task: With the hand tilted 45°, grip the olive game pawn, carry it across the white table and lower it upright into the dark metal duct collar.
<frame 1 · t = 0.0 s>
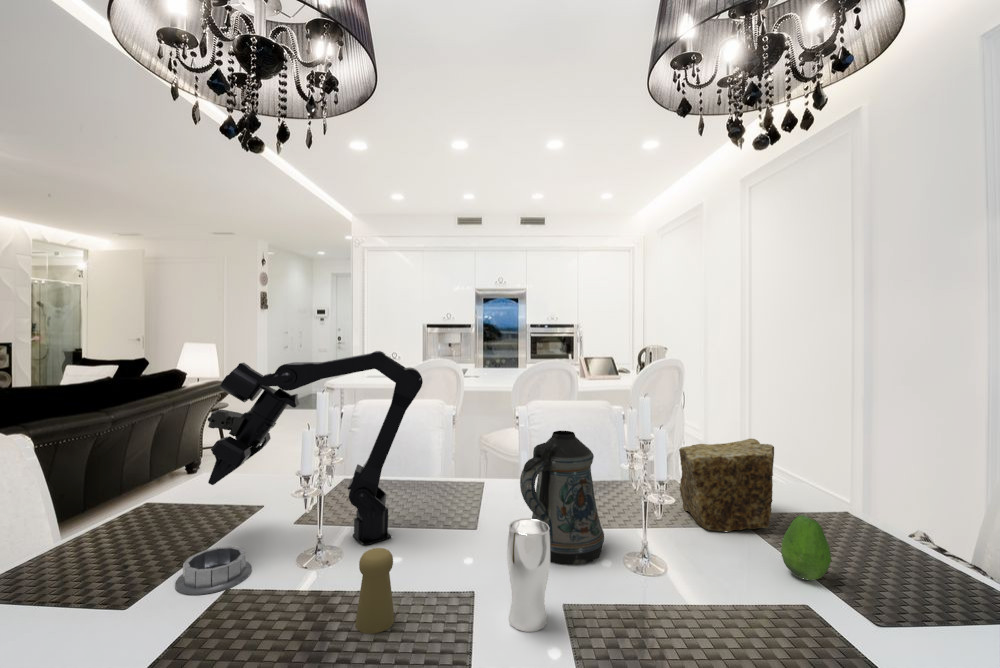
hand: (219, 477, 97), 15 cm above the table, tool tilted 35°, fingers open, 9 cm apart
olive game pawn: (375, 622, 73), on the table
beer glass: (527, 621, 74), on the table
duct collar: (214, 577, 85), on the table
beer stein: (562, 551, 98), on the table
decorative stone: (722, 520, 117), on the table
avocado: (805, 578, 89), on the table
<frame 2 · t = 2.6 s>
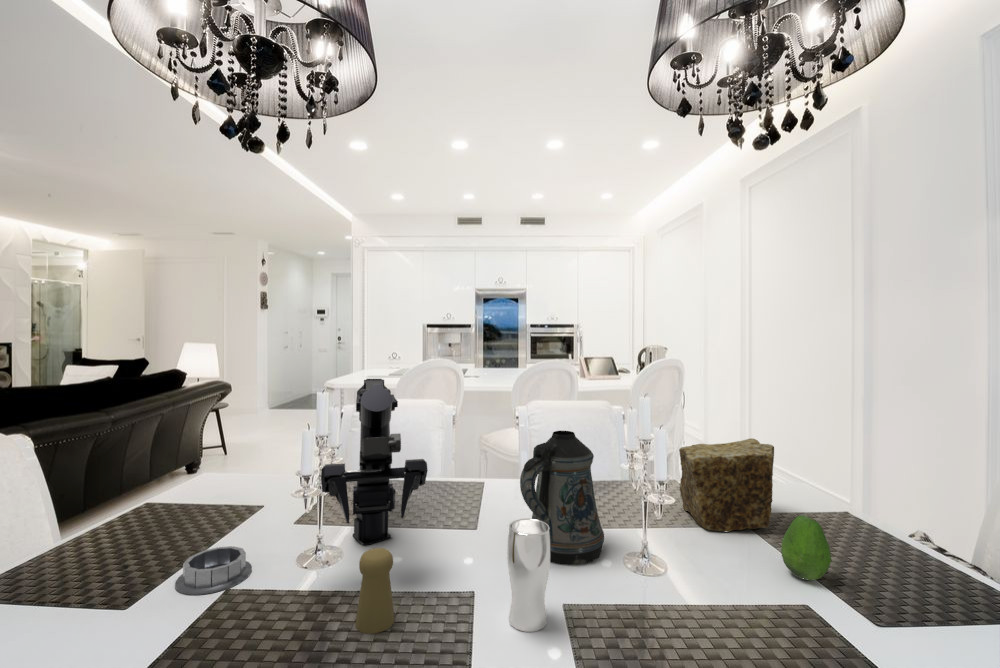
hand: (375, 519, 80), 13 cm above the table, tool tilted 45°, fingers open, 9 cm apart
nothing on the table moved.
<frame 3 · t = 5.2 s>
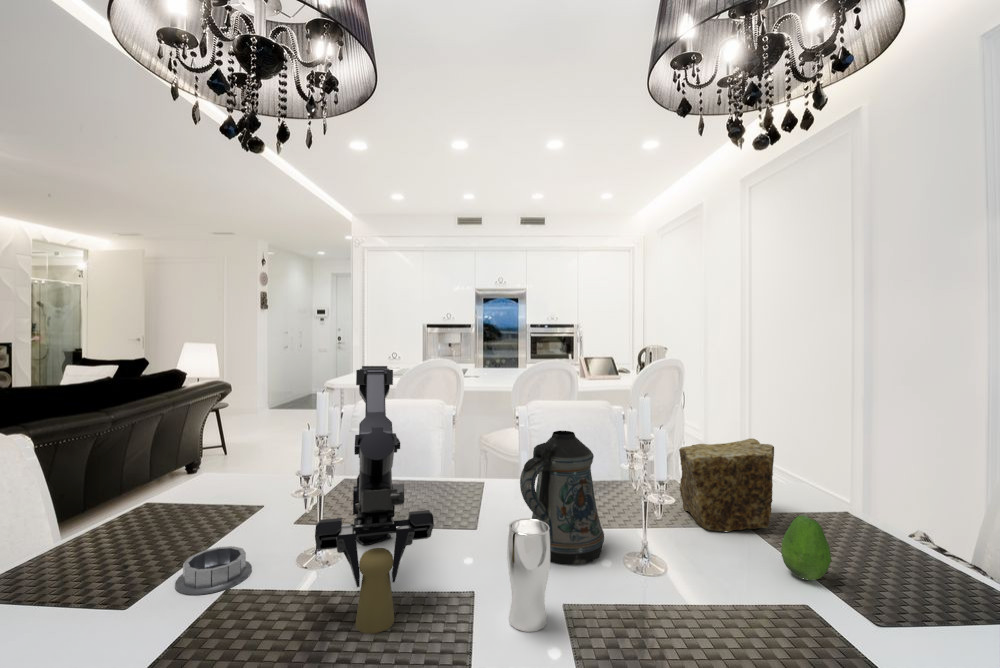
hand: (376, 584, 71), 7 cm above the table, tool tilted 45°, fingers closed on olive game pawn, 5 cm apart
olive game pawn: (375, 622, 73), on the table, touching gripper
everything else where it was.
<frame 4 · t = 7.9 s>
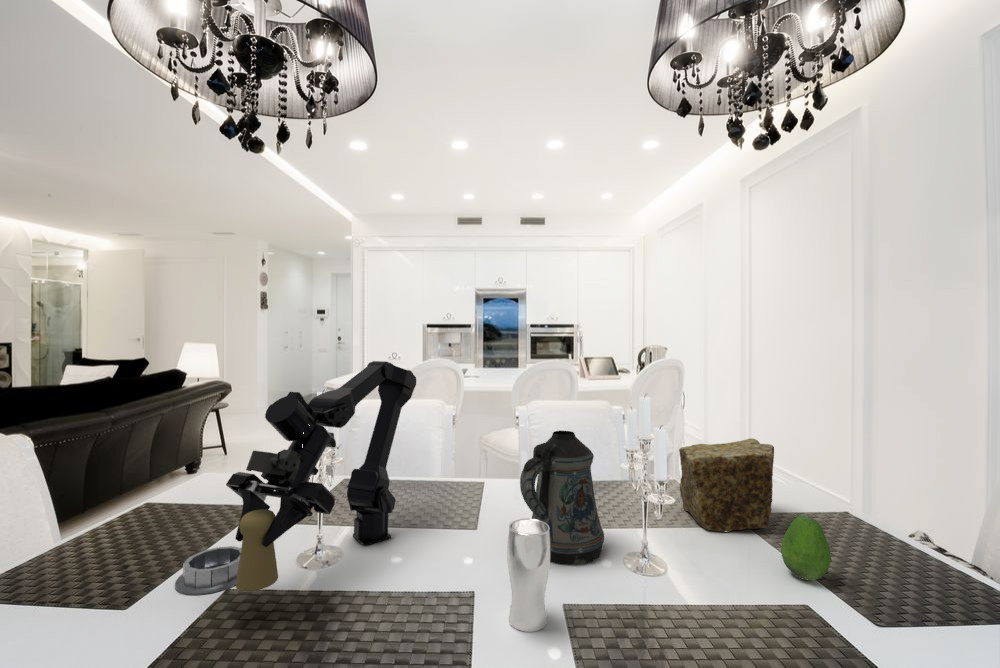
hand: (250, 543, 72), 12 cm above the table, tool tilted 45°, fingers closed on olive game pawn, 5 cm apart
olive game pawn: (257, 582, 73), point 5 cm above the table, touching gripper
everything else where it was.
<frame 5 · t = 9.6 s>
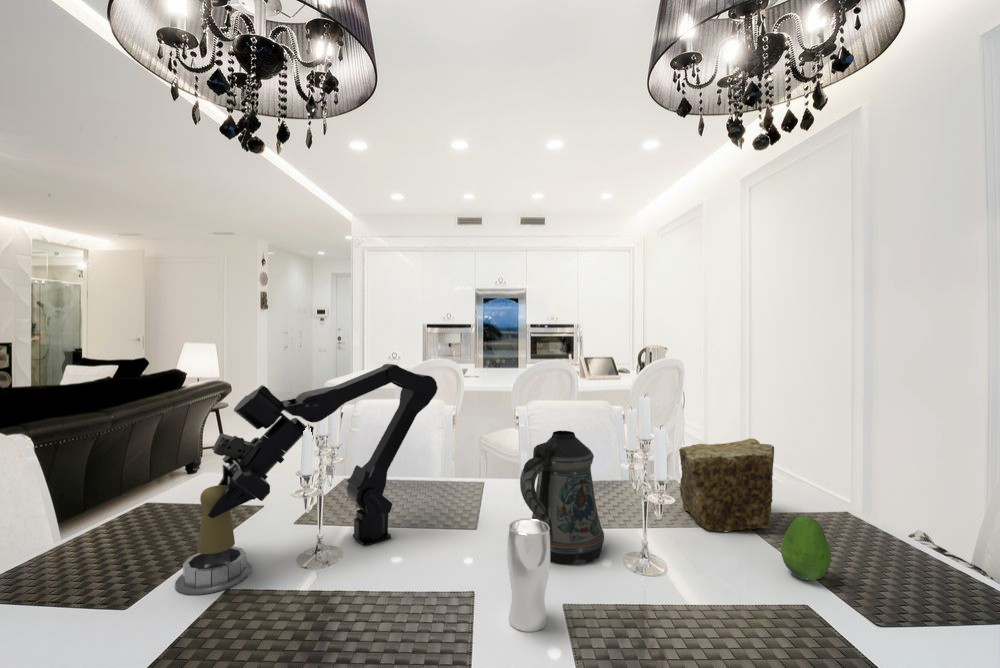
hand: (208, 512, 85), 12 cm above the table, tool tilted 45°, fingers closed on olive game pawn, 5 cm apart
olive game pawn: (216, 547, 85), point 5 cm above the table, touching gripper
everything else where it was.
when the fingers open (8 cm above the table, at t = 11.1 s): olive game pawn stays where it is, resting on duct collar.
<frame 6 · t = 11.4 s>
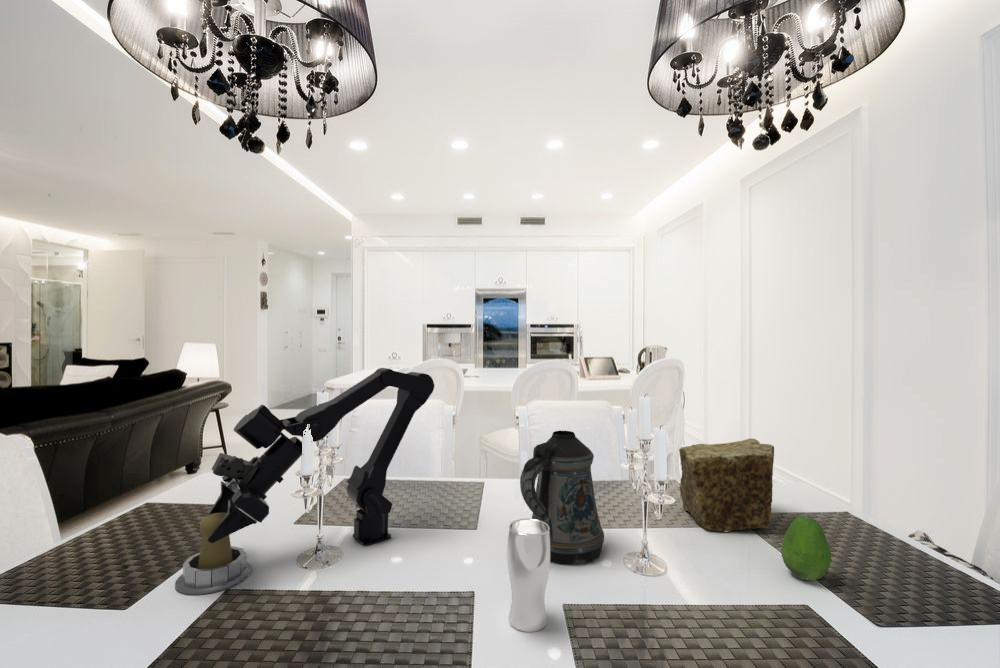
hand: (207, 532, 84), 9 cm above the table, tool tilted 45°, fingers open, 9 cm apart
olive game pawn: (215, 575, 85), resting on duct collar
everything else where it was.
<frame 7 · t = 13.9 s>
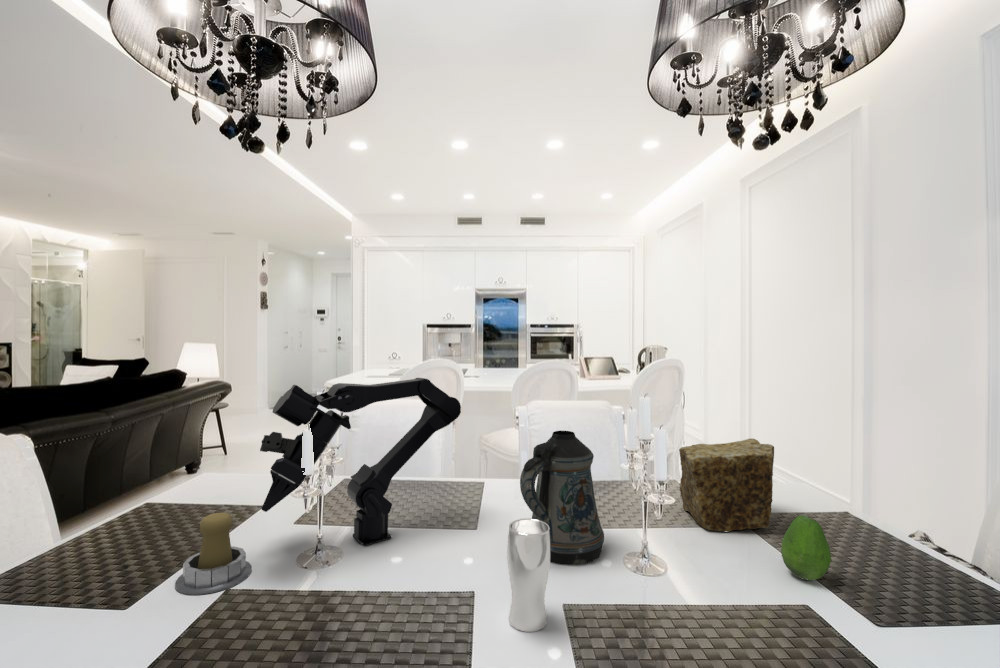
hand: (267, 507, 91), 11 cm above the table, tool tilted 35°, fingers open, 9 cm apart
nothing on the table moved.
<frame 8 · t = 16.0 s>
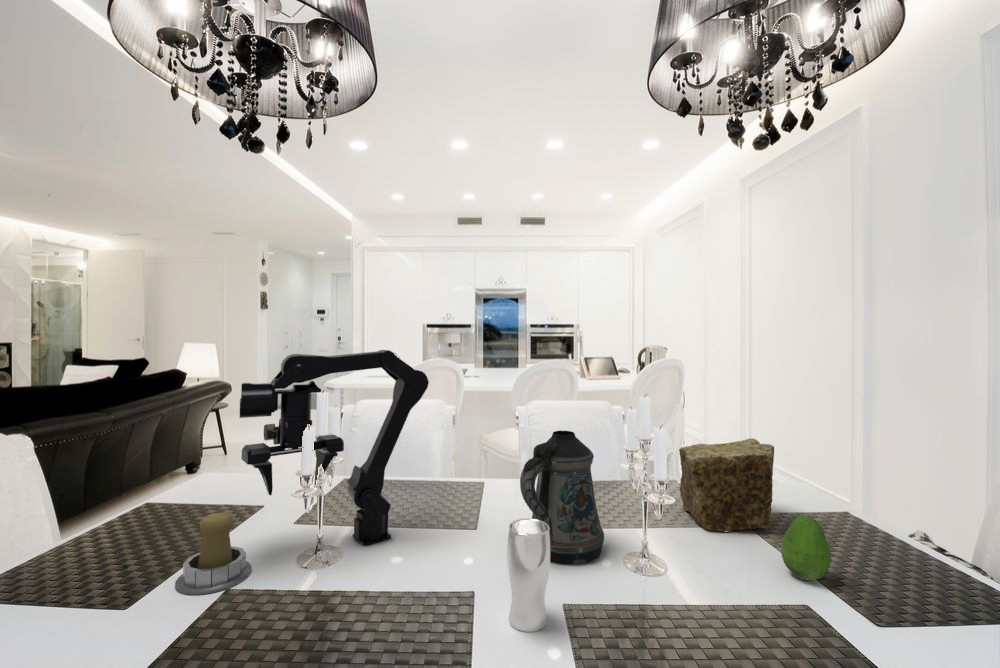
hand: (294, 490, 95), 13 cm above the table, tool pointing down, fingers open, 9 cm apart
nothing on the table moved.
at the end: olive game pawn 0.1 cm off-centre on the duct collar, point 0.3 cm above the duct collar's base; olive game pawn tilted 0°; the gripper is holding nothing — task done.
